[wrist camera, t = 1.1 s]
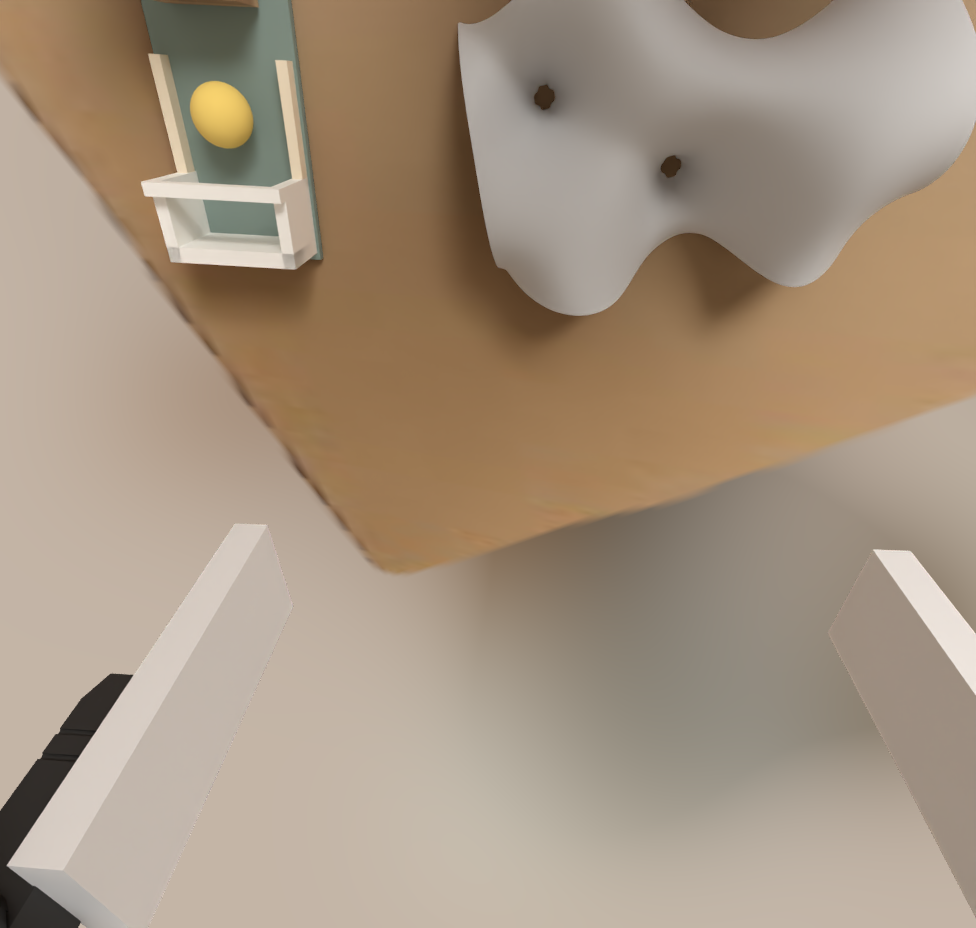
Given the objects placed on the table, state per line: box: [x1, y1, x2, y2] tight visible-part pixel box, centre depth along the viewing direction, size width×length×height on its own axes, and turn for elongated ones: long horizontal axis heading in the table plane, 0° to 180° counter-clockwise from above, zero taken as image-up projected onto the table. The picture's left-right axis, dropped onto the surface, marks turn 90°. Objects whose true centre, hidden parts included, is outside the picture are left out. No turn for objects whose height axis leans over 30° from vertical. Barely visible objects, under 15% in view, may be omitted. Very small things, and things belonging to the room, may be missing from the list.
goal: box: [141, 171, 317, 270], centre depth 37 cm, size 5×9×5 cm, turn 88°
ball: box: [190, 81, 253, 149], centre depth 35 cm, size 4×4×4 cm
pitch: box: [141, 0, 323, 260], centre depth 34 cm, size 27×9×2 cm, turn 178°
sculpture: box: [458, 0, 976, 316], centre depth 32 cm, size 25×19×10 cm
